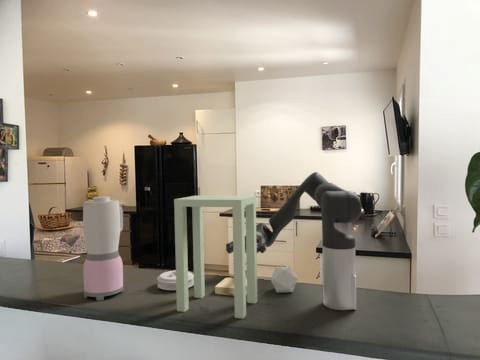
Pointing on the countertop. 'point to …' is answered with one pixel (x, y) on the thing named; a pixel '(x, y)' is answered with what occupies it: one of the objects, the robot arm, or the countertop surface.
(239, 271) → the mint green side table
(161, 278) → the lid
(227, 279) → the cheese board
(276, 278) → the die
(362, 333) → the countertop surface
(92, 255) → the blender
